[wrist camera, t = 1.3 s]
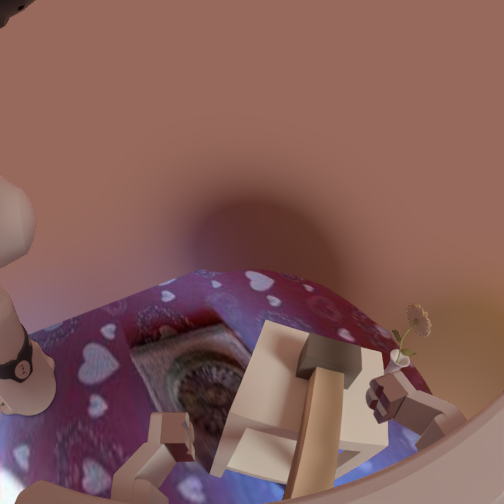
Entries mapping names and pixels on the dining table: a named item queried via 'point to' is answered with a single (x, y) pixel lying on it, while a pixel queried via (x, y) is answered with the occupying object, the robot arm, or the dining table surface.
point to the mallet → (321, 412)
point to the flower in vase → (418, 324)
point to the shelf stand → (291, 412)
